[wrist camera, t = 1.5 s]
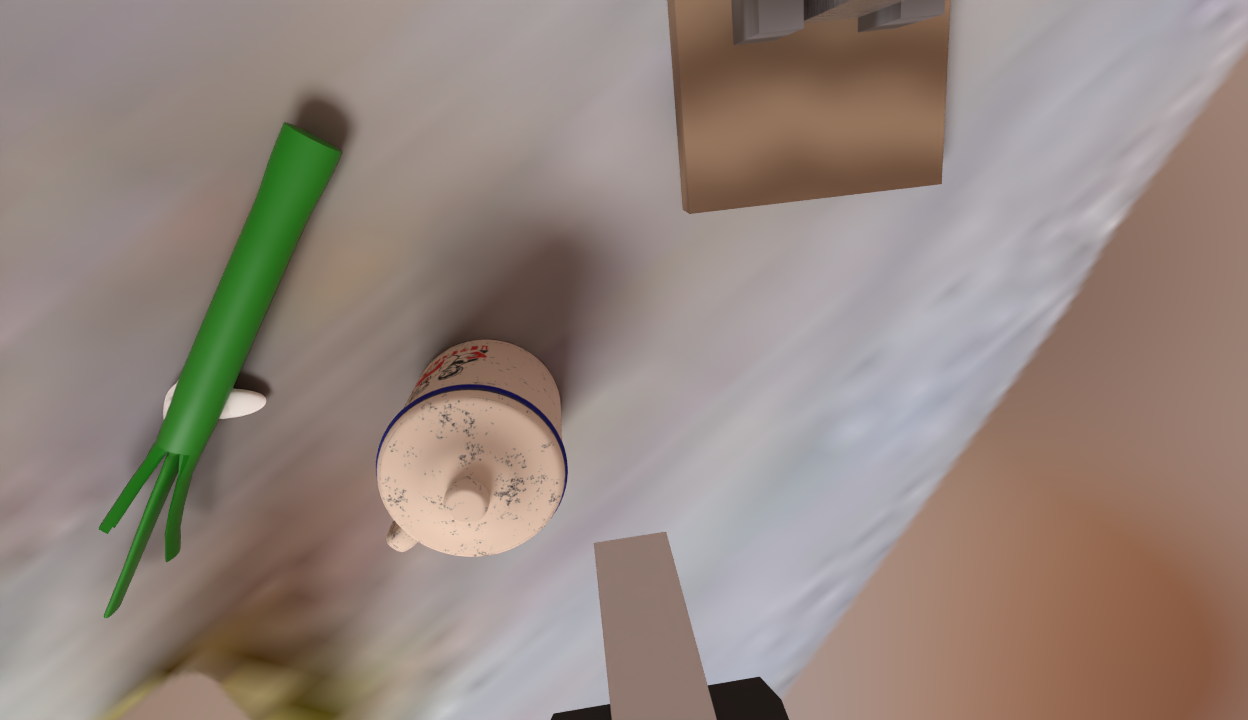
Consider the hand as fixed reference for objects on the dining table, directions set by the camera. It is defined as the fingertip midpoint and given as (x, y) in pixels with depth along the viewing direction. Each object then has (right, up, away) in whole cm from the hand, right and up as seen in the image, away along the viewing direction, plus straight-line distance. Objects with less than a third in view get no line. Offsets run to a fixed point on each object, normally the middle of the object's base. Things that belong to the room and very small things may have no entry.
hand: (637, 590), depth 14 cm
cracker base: (+9, +26, +20) cm, 34 cm away
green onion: (-23, +4, +25) cm, 34 cm away
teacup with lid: (-9, +1, +27) cm, 28 cm away
